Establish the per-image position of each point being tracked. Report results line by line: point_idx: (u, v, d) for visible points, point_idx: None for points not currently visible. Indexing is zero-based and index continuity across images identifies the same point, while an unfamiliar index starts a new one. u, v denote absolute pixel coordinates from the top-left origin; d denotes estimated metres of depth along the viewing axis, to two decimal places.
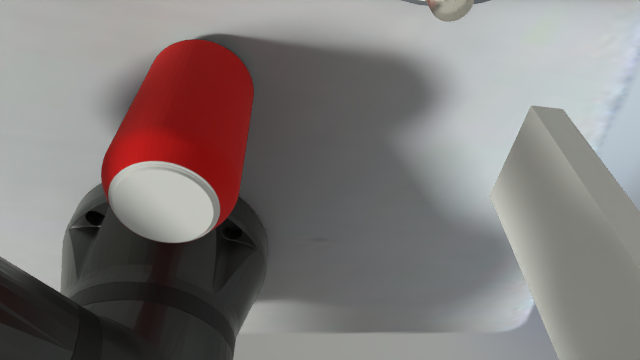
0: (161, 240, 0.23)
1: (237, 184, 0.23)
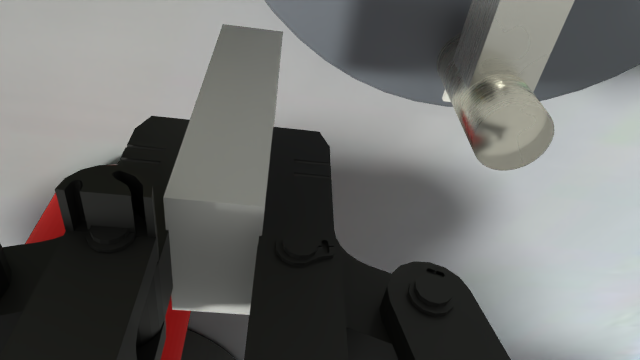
0: None
1: None
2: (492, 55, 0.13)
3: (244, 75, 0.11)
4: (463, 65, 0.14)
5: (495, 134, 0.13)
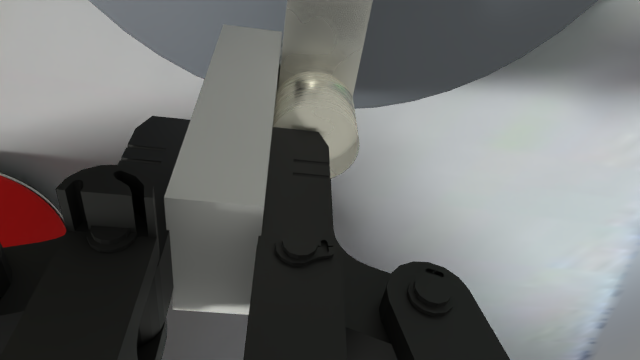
0: None
1: None
2: (295, 50, 0.11)
3: (244, 75, 0.11)
4: None
5: None
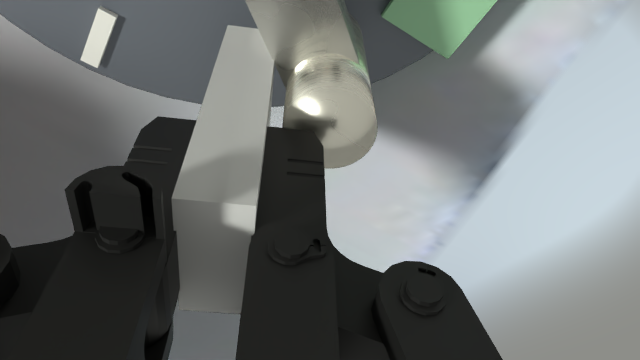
0: None
1: None
2: (280, 46, 0.11)
3: (250, 76, 0.11)
4: None
5: None
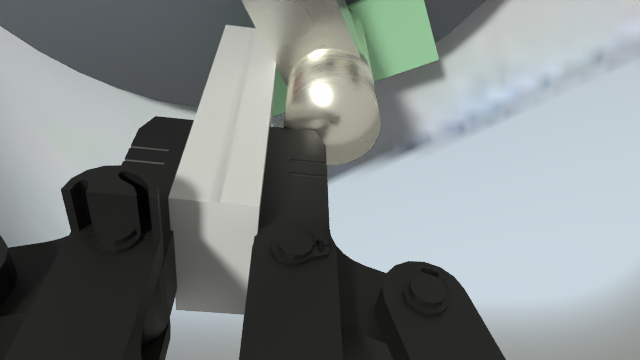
0: None
1: None
2: (279, 44, 0.11)
3: (247, 75, 0.11)
4: None
5: None
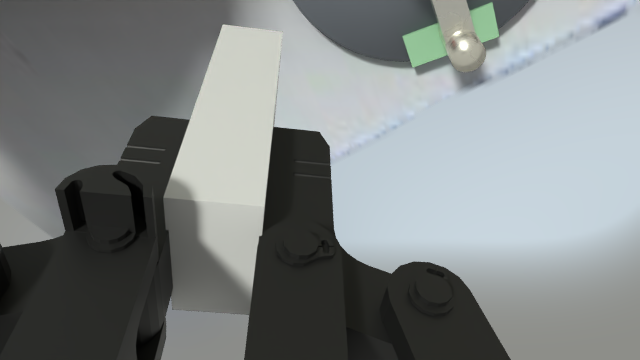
0: None
1: None
2: (446, 28, 0.30)
3: (244, 75, 0.11)
4: (442, 35, 0.31)
5: (459, 58, 0.29)
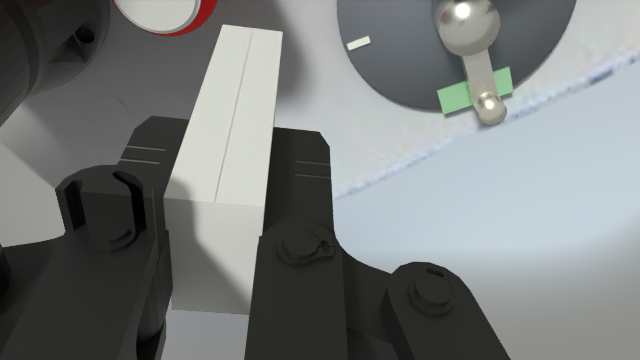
0: (119, 2, 0.26)
1: None
2: (476, 91, 0.39)
3: (244, 75, 0.11)
4: (471, 94, 0.40)
5: (486, 115, 0.38)
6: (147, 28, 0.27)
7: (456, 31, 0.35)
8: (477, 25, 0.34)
